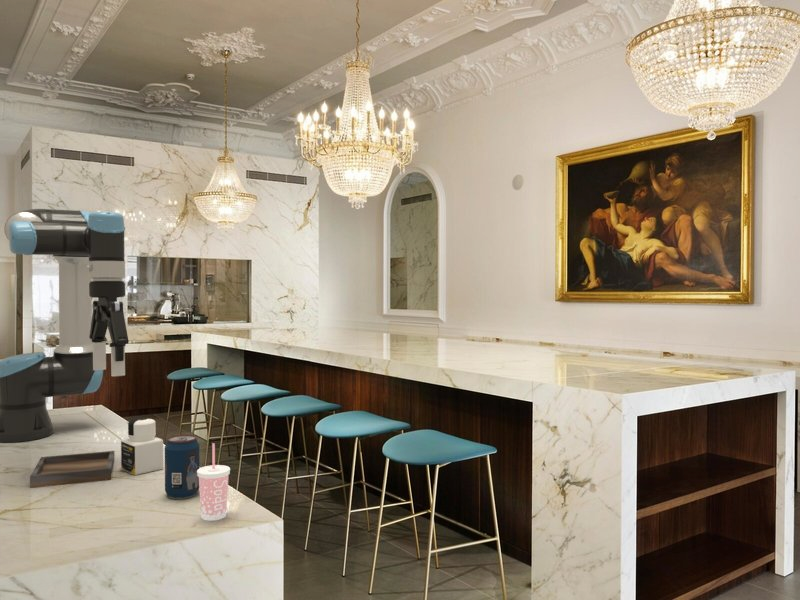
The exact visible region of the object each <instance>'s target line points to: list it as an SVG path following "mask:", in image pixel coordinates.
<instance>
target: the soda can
mask: <svg viewBox="0 0 800 600" xmlns="http://www.w3.org/2000/svg"><path fill="white" fill-rule="evenodd" d="M200 455H201V454H200V443H199V441H198V439H197V436H196V435H192V434H177V435H173V436H169V437H168V438H167V442H166V444H165V445H164V492H165V493H166V495H167V496H168V498H170V499H173V500H183V499H184V500H186V499H189V498H191V497H194V496H196V495H197V493H198V492H199V491H200V490H199V477H198V476H197V470H198V469H199V468H201V467H200V464H201V463H200V459H201V458H200Z"/></svg>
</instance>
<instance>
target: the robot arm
mask: <svg viewBox="0 0 800 600" xmlns="http://www.w3.org/2000/svg"><path fill="white" fill-rule="evenodd" d="M124 219H125V218H124V215H123V214H122V213H120V212H115V211H114V212H113V211H86V210H85V211H84V210H80V209H79V210H72V209H71V210H70V209H69V210H68V209H50V208H49V209H47V208H46V209H45V208H31V209H27V210H26V209H25V210H22V211H18V212H15V213H13V214H12V215H11V216H9V217H8V218H7V219H6V221H5V224H4V234H5V236H6V239H7V240H8V241H9V242H8V243H9V250H10V252H11V253H12V254H14V255H24V256H31V255H34V256H35V255H39V256H44V255H45V256H47V255H48V256H52V257H53V259H55V261H57V262H58V320H59V321H58V323H59V325H58V333H59V339H58V340H59V343H58V345H57V346H56V347H55V348H54V349H53V350H52V351H53V356H46V354H45V352H44V351H38V352H37V351H36V352H29V353H28V352H27V353H26V352H25V353H22V354H21V353H20V354H15V355H10V356H8V357H5V358H3V359H2V360H0V443H19V442H27V441H35V440H40V439H42V438H43V439H44V438H47V437H49V436H51V435H53V433H54V424H53V422H52V419H51V416H50V414H49V412H48V409H47V404H46V403H47V401H46V398H53V397H63V396H73V395H74V396H76V395H81V396H82V395H84V394H85V395H86V394H92V393H95V392H97V391H98V390H99V388H100V386H101V384H102V380H103V374H104V370H107V346H106V345H107V343H106V342H108V338H107V336H106V335H107V330H108V333H109V337H110V340H111V342H110V343H109V345H108V346H109V347H110V367H111V369H110V370H111V371H110V372H111V373H110V374H111V375H110V376H111V377H123V376H126V351H125V350H126V348H125V347H126V345H128V344H129V337H128V336H129V335H128V331H127V324H126V319H125V318H126V317H125V313H124V302H123V301H118V298H124V297H125V296H126V283H125V281H123V279H125V278H126V261H125V259H126V258H125V230H126V227H125V220H124ZM92 298H98V300H93V302H92Z"/></svg>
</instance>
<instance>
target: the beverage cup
mask: <svg viewBox="0 0 800 600" xmlns="http://www.w3.org/2000/svg"><path fill="white" fill-rule="evenodd" d="M211 444H212V445H211V448H212V449H211V451H212V452H211V453H212V458H211V459H212V461H211V462H212V465H205V466H202V467H200V468H199V469H198V470H197V476H198V477H199V490H198V491H199V500H200V513H201V514H200V516H201V519H202V520H204V521H218V520H222V519H225V517H227V510H228V508H227V507H228V490H229V475H230V474H231V467H229V466H228V465H224V464H223V465H222V464H216V445H215V444H216V443H213V442H212V443H211Z"/></svg>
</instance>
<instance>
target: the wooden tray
mask: <svg viewBox="0 0 800 600" xmlns="http://www.w3.org/2000/svg"><path fill="white" fill-rule="evenodd" d="M115 459H116V457H115V450H107V451H96V452H94V451H93V452H84V453H72V454H63V455H62V454H60V455H50V456H41V457H40V459H39V460H38V462H37V463H36V464H35V467H34V469H33V470H32V472H31V474H30V475H29V488H30V489H32V488H41V487H51V486H53V487H54V486H60V485H61V486H62V485H63V486H64V485H69V484H70V485H73V484H80V483H81V484H82V483H90V482H91V483H92V482H100V481H110V480H112V476H113V471H114V467H115Z"/></svg>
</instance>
